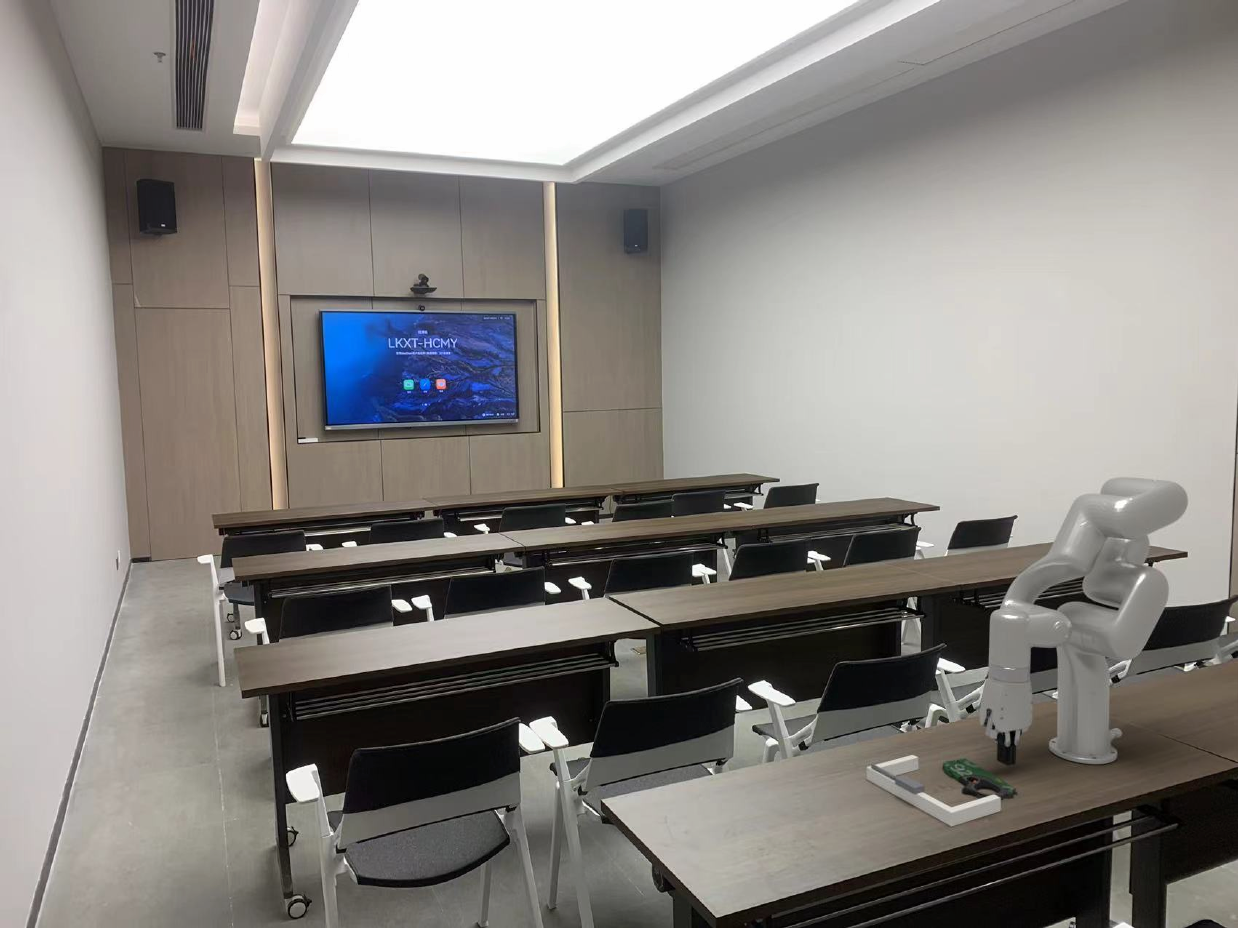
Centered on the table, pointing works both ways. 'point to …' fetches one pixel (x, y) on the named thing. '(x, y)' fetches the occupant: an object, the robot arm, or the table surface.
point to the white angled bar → (914, 794)
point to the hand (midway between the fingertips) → (1006, 762)
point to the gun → (977, 779)
